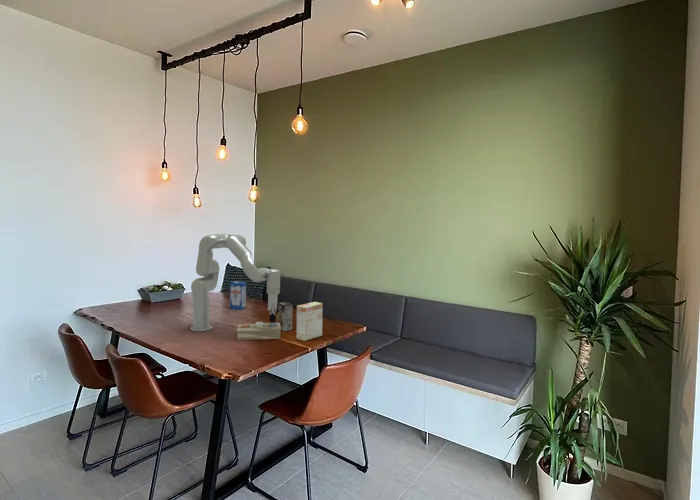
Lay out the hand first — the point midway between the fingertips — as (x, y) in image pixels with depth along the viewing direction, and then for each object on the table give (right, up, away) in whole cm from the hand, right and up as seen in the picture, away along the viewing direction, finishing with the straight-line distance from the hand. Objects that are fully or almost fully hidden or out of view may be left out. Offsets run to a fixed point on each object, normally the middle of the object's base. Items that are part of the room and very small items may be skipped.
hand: (272, 321), depth 236 cm
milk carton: (-39, -3, +68) cm, 78 cm away
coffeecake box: (+22, -9, -1) cm, 24 cm away
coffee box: (+4, -8, +16) cm, 18 cm away
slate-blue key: (0, -5, 0) cm, 5 cm away
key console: (-7, -9, -1) cm, 11 cm away
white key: (-7, -5, -1) cm, 9 cm away
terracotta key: (-15, -5, -3) cm, 16 cm away
